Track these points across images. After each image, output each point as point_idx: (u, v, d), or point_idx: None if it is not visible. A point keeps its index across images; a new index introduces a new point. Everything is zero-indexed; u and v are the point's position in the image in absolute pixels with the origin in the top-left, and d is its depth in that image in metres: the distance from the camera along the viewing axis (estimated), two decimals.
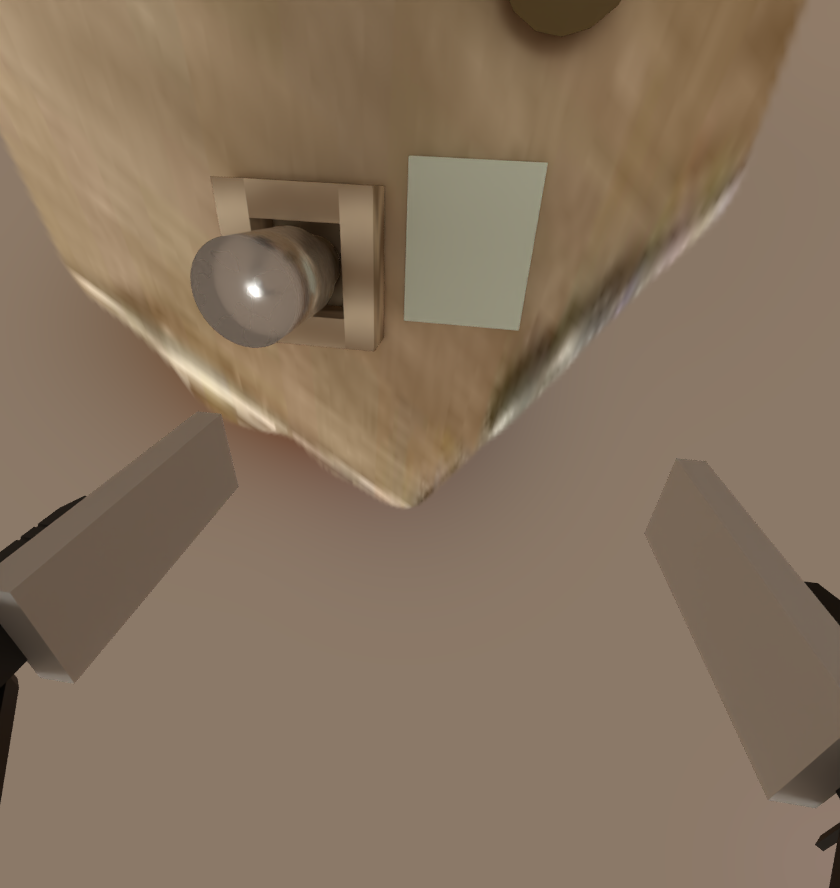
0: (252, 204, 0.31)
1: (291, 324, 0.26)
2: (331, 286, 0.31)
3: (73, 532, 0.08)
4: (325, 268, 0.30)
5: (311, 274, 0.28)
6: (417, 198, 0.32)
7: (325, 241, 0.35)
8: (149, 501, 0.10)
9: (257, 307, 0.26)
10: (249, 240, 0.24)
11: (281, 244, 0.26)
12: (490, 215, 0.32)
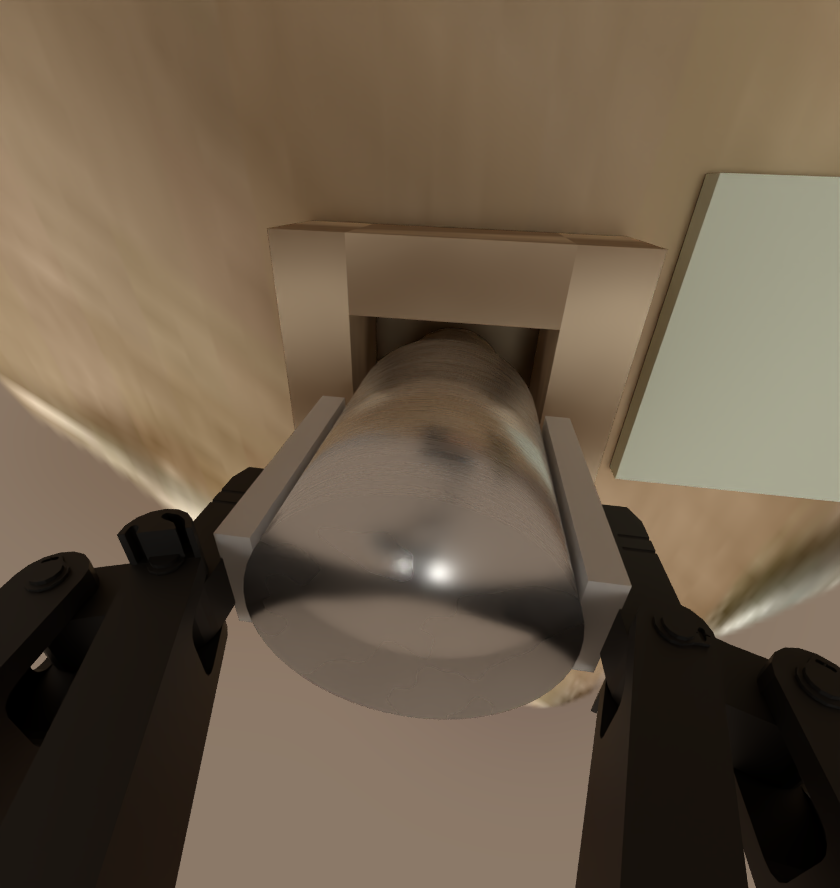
0: (360, 288, 0.14)
1: None
2: None
3: (273, 493, 0.09)
4: None
5: None
6: (712, 264, 0.15)
7: (482, 343, 0.17)
8: None
9: (447, 654, 0.08)
10: (471, 512, 0.06)
11: (517, 460, 0.08)
12: None
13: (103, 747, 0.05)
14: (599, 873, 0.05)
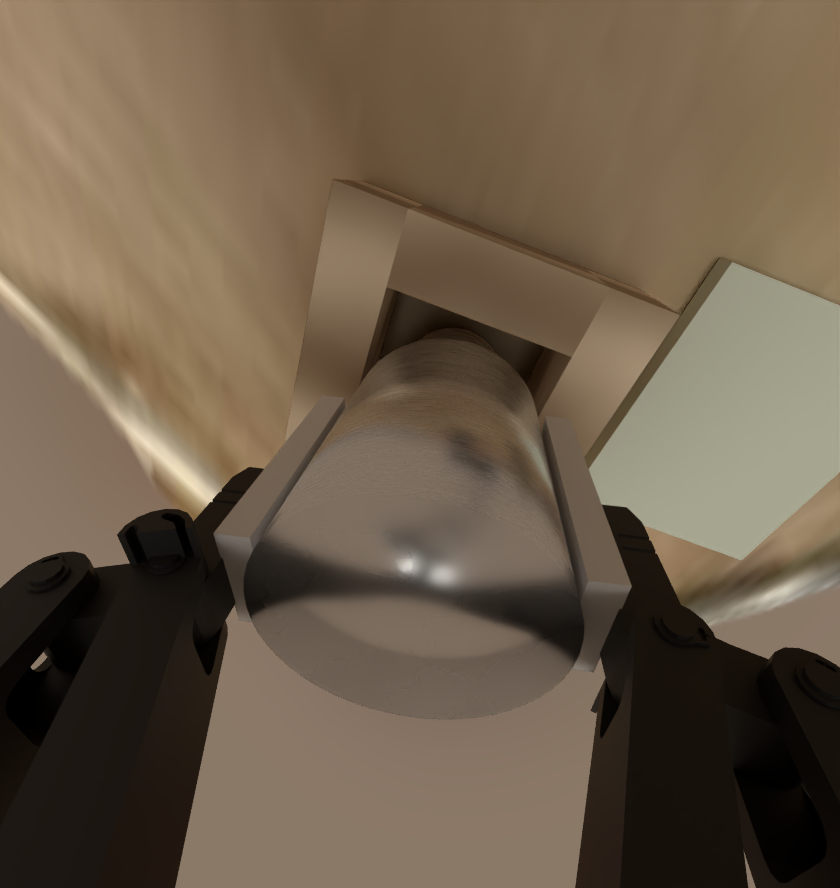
0: (405, 265, 0.14)
1: None
2: None
3: (273, 493, 0.09)
4: None
5: None
6: (702, 336, 0.17)
7: (482, 342, 0.17)
8: None
9: (446, 654, 0.08)
10: (471, 511, 0.06)
11: (517, 460, 0.08)
12: (810, 402, 0.18)
13: (103, 747, 0.05)
14: (599, 873, 0.05)
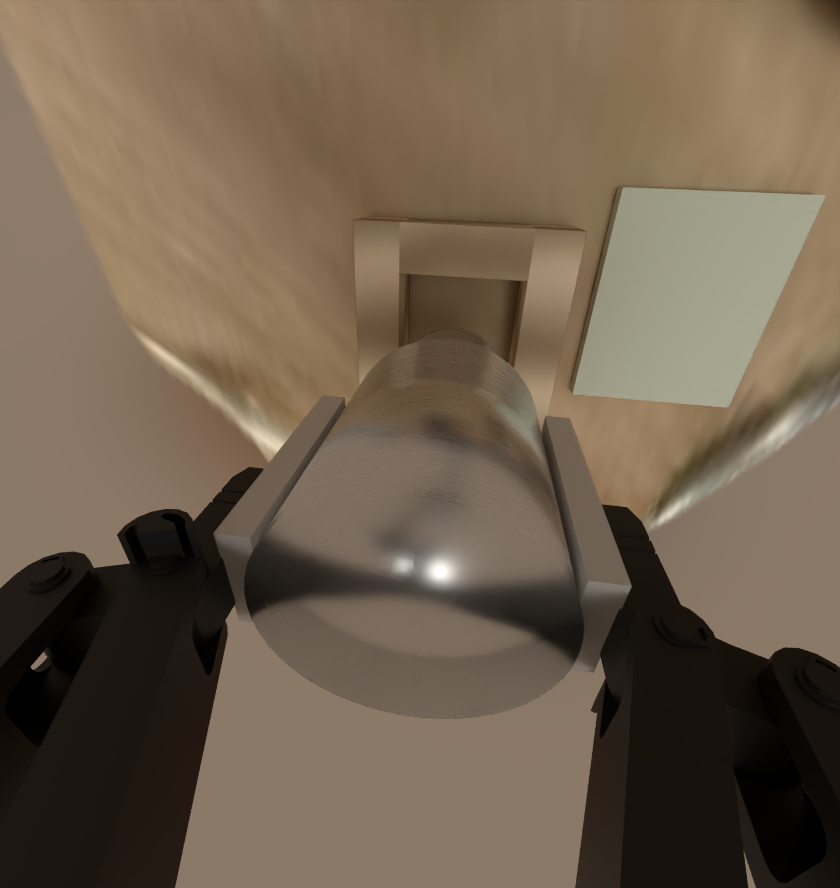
0: (407, 256, 0.23)
1: None
2: None
3: (273, 492, 0.09)
4: None
5: None
6: (623, 243, 0.24)
7: (482, 343, 0.17)
8: None
9: (447, 653, 0.08)
10: (471, 511, 0.06)
11: (517, 460, 0.08)
12: (723, 265, 0.23)
13: (103, 747, 0.05)
14: (599, 873, 0.05)
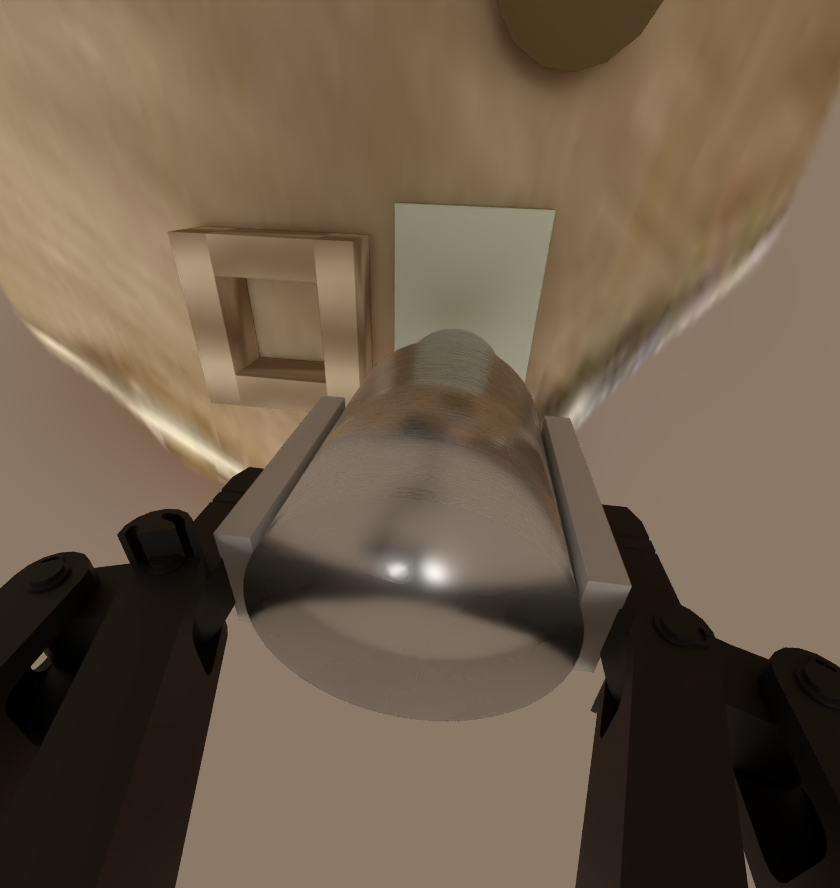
0: (217, 261, 0.27)
1: None
2: None
3: (273, 493, 0.09)
4: None
5: None
6: (406, 249, 0.28)
7: (482, 343, 0.17)
8: None
9: (446, 656, 0.08)
10: (471, 514, 0.06)
11: (517, 462, 0.08)
12: (489, 268, 0.28)
13: (103, 747, 0.05)
14: (599, 873, 0.05)
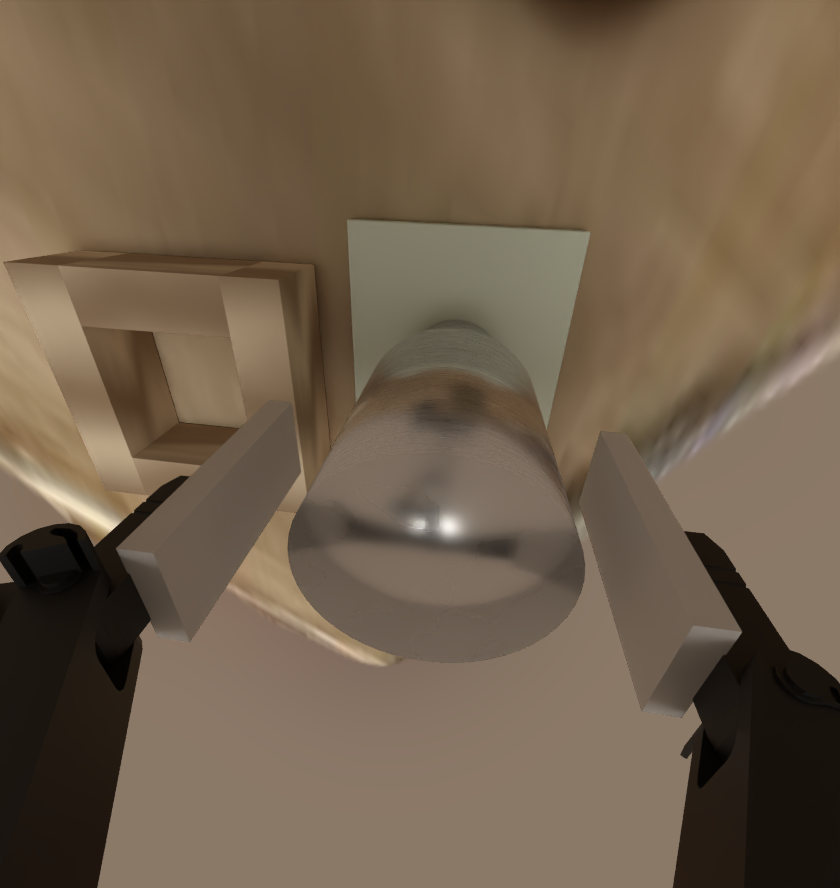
0: (82, 306, 0.18)
1: None
2: None
3: (191, 504, 0.09)
4: None
5: None
6: (366, 287, 0.19)
7: (483, 333, 0.19)
8: (242, 480, 0.11)
9: (466, 599, 0.10)
10: (491, 466, 0.08)
11: (525, 429, 0.10)
12: (489, 314, 0.19)
13: None
14: None
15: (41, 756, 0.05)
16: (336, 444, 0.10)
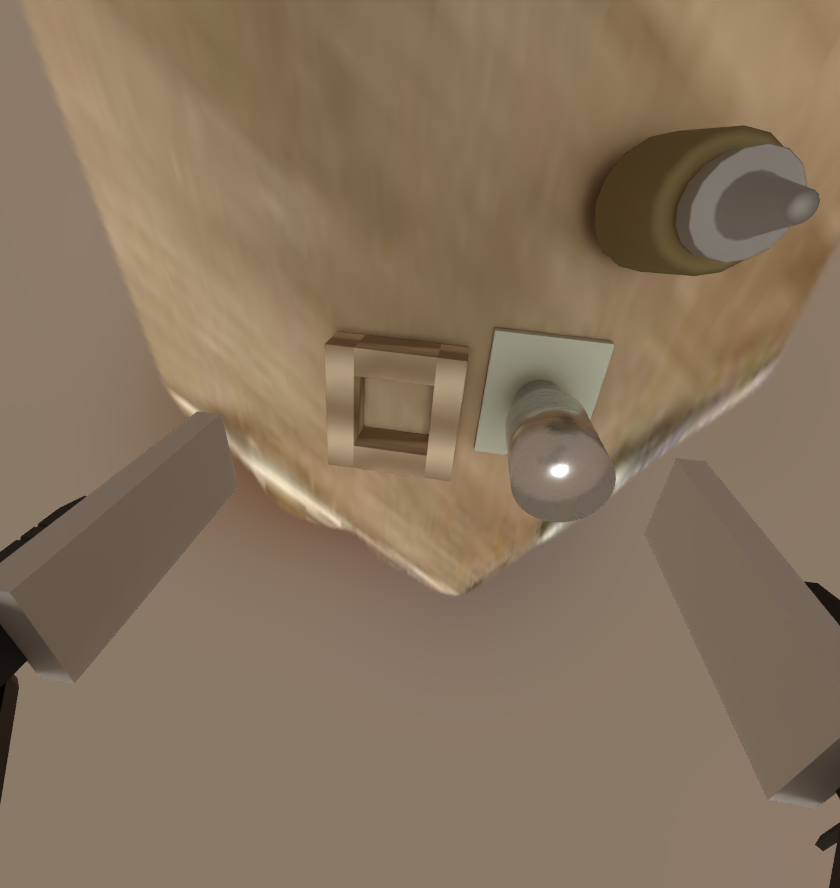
0: (358, 366, 0.36)
1: None
2: None
3: (73, 532, 0.08)
4: None
5: None
6: (498, 361, 0.37)
7: (557, 387, 0.37)
8: (149, 501, 0.10)
9: (572, 492, 0.27)
10: (590, 443, 0.26)
11: (595, 434, 0.28)
12: (560, 378, 0.37)
13: None
14: None
15: None
16: (526, 436, 0.28)
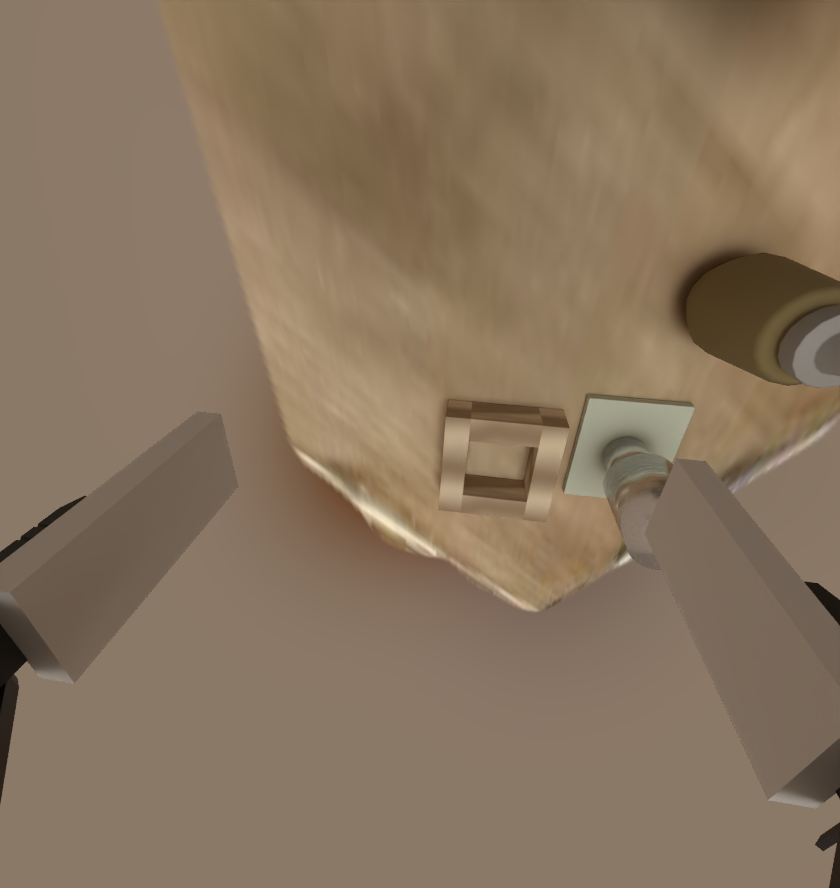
0: (473, 433, 0.42)
1: None
2: None
3: (73, 532, 0.08)
4: None
5: None
6: (590, 422, 0.43)
7: (643, 443, 0.43)
8: (149, 500, 0.10)
9: None
10: None
11: None
12: (645, 434, 0.43)
13: None
14: None
15: None
16: (638, 502, 0.34)
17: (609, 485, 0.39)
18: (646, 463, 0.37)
